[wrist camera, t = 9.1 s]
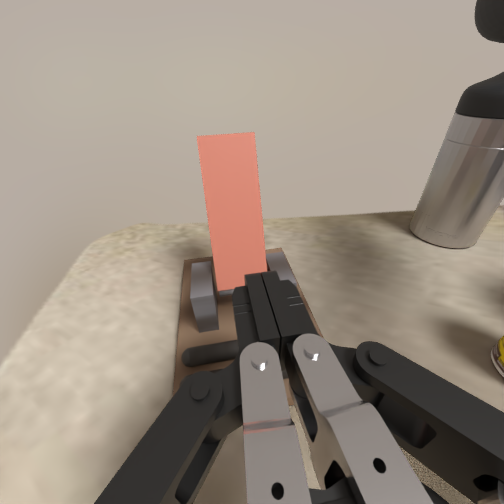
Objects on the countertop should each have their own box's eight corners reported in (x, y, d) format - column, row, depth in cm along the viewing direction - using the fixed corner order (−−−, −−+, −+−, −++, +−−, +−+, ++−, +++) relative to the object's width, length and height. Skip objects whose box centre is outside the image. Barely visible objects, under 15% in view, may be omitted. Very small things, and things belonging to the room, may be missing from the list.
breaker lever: (269, 293, 24) (254, 132, 21) (219, 300, 24) (196, 136, 21) (264, 285, 27) (250, 139, 24) (219, 292, 26) (198, 143, 23)
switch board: (342, 394, 21) (359, 351, 17) (175, 429, 19) (152, 390, 15) (281, 255, 37) (282, 217, 33) (186, 268, 35) (176, 229, 31)
